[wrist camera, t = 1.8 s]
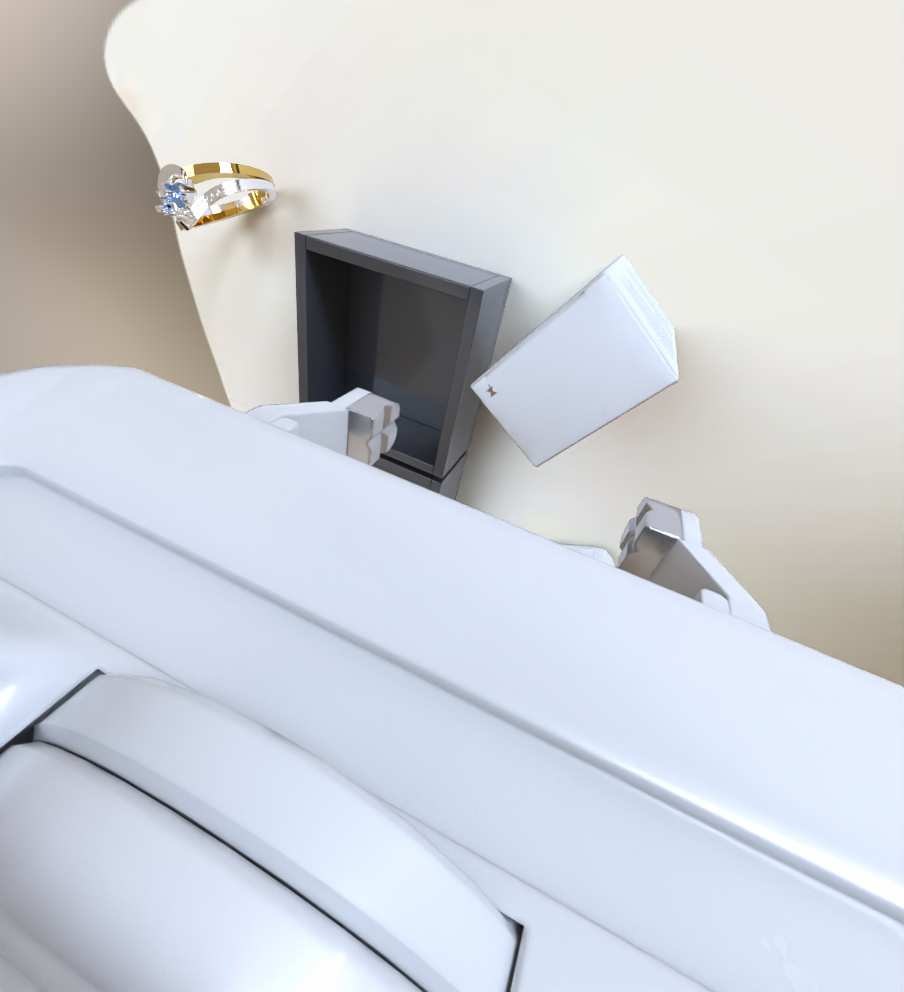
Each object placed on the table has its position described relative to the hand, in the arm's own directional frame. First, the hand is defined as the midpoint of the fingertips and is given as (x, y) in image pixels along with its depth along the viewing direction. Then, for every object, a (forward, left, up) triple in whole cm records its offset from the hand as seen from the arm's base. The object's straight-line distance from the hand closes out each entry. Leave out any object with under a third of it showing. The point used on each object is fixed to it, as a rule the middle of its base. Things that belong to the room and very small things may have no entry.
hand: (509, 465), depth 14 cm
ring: (+26, -2, -19) cm, 32 cm away
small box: (0, 0, -19) cm, 19 cm away
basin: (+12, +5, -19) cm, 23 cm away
